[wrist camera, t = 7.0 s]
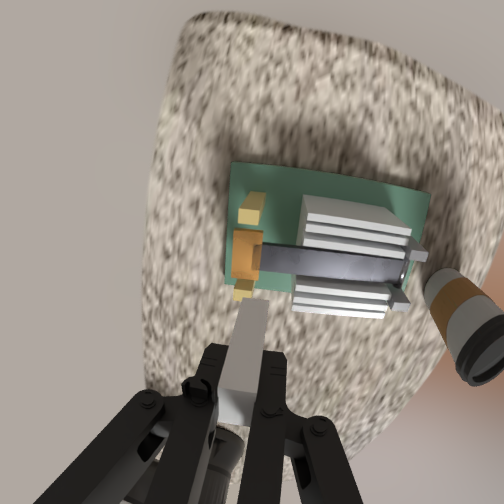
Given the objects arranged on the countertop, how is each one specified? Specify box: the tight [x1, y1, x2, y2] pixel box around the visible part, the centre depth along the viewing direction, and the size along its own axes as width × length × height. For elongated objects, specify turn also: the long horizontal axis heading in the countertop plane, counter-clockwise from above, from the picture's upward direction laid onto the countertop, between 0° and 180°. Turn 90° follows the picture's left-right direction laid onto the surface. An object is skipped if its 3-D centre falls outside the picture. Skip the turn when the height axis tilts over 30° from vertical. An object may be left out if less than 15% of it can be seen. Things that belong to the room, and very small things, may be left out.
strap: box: [231, 228, 411, 289], centre depth 23 cm, size 16×4×1 cm, turn 85°
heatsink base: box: [225, 161, 431, 319], centre depth 26 cm, size 22×14×9 cm, turn 85°
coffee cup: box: [424, 268, 504, 386], centre depth 24 cm, size 8×8×15 cm
